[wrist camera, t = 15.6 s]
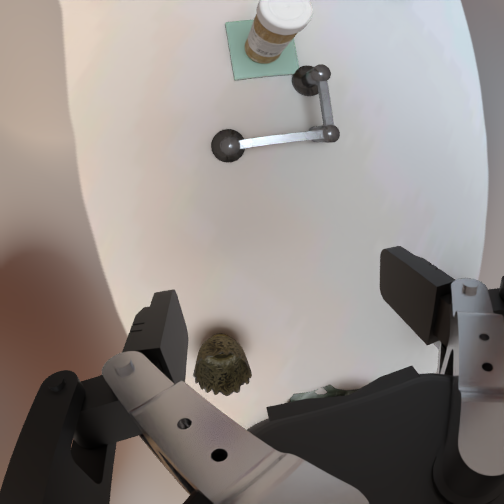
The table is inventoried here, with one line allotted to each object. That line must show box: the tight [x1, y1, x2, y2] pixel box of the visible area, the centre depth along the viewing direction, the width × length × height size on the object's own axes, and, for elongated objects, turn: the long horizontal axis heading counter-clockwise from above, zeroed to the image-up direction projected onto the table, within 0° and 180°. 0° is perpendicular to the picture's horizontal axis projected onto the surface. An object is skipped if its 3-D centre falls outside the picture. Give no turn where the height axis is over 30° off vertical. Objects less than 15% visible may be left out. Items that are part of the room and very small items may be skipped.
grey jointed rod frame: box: [211, 65, 340, 162], centre depth 32 cm, size 15×11×6 cm
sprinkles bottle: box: [245, 0, 313, 64], centre depth 25 cm, size 5×5×14 cm
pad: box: [225, 20, 300, 80], centre depth 32 cm, size 8×8×1 cm
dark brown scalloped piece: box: [193, 333, 252, 396], centre depth 41 cm, size 8×7×8 cm
